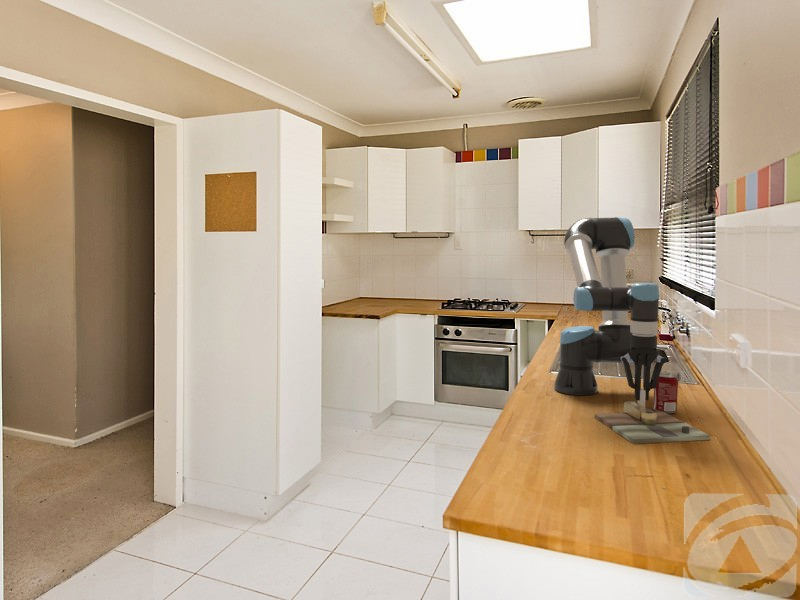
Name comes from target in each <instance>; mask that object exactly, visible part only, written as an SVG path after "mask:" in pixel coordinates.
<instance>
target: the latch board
mask: <svg viewBox="0 0 800 600" xmlns="http://www.w3.org/2000/svg"><path fill="white" fill-rule="evenodd" d="M653 411H654V412H656V413H657V416H656V424H655V425H647V424H643V423H642V422H641V421H640V420H638V419H636V418H634V417H633V416H631V415H629V414H628V413H626V412H607V413H606V412H605V413H603V412H602V413H594V419H596V420H597V421H599V422H600V423H602V424H603V425H605V426H606V427H607V428H609V429H611V430H613V432H616V433H617V434H618V435H620V437H623V438H624V439H626V440H627V441H629V442H630V443H632V444H649V443H666V442H667V443H668V442H669V443H670V442H687V441H688V442H689V441H691V442H693V441H707V440H708V441H709V440H710V439H711V438H710V437H711V436H710V434H707V433H706V432H704V431H702V430H700V429H698V428H696V427H694V426H692V425H690V424H688V423H687V422H685V421H682V420H681V419H678V418H676V417H674V416H673V415H672V414H667V413H665V412H663V411H656V410H653Z"/></svg>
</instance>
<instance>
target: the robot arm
mask: <svg viewBox="0 0 800 600" xmlns="http://www.w3.org/2000/svg"><path fill="white" fill-rule="evenodd" d="M635 236H636V235H635V229H634V226H633V224H632V221H631V220H630V219H629V218H627V217H617V216H614V217H586V218H581V219H579V220H576V221H575V222H574V223H573V224H572V225H570V227H569V228H568V229H567V231H566V233H565V235H564V239H563V240H564V241H563V242H564V243H563V244H564V249H565V251H566V253H567V254H569V257H570V258H569V259H570V260H571V266H572V270H573V274H574V277H575V278H574V279H575V281H576V285H577V287H576V288H575V289H574V290H573V307H574V308H575V309H576V310H577V311H586V312H592V311H593V312H594V311H595V312H597V311H598V312H602V316H601V317H602V322H601V323H599V325H598V330H596V329H595V328H594V326H592V325H591V326H590V325H578V326H571V327H567V328H564V329H563V330H562V331H561V332H560V336H559V337H560V338H559V369H558V372H557V375H556V378H555V379H554V382H553V383H554V385H553V386H554V387H553V388H554V390H555V391H556V392H559V393H561V394H565V395H573V396H590V395H595V394H597V393H598V390H599V389H598V387H599V386H598V383H597V380H596V375H595V373H594V363H597V364H599V363H600V364H601V363H603V364H607V363H608V364H623V368H624V372H625V375H626V376H625V377H626V381H627V384H628V386H629V388H631V389H632V390H633V389H634V399H635V400H636V401H637V404H639V405H641V406H643V407H645V408H646V402H647V401H649V399H650V391H651V390H654V389H655V388H656V385H657V382H658V379H659V375H660V373H662V372H661V371H662V369H663V368H662V367H663V365H664V364H665V363H666V362H667V358H665V357H663V356H661V355H660V354H659V351H658V336H657V334H658V332H659V331H658V330H659V329H658V327H659V324H658V322H659V302H660V301H659V298H660V290H659V285H658V284H657V283H652V282H651V283H650V282H634V283H633V284H631V286H627V271H626V270H627V268H626V257H627V255H629V253H630V250H631V249H633V248H634V245H635V238H636V237H635ZM593 250H595V255H596V256H597V257H598V258H600V274H599V271H598V267H597V265H596V264H597V263H596V261H595V257H594V254H593ZM628 312H630V322H629V318H628V316H629V315H628V314H629V313H628ZM654 361H655V363H654V364H655V365H654V368H653V371H652V373H651V369H652V364H653V362H654ZM630 363H634V378H633V373H632V369H631V365H630ZM642 367H643V368H642ZM642 369H643V378H642Z"/></svg>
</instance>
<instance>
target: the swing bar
mask: <svg viewBox="0 0 800 600" xmlns="http://www.w3.org/2000/svg"><path fill="white" fill-rule="evenodd" d="M654 411H655V410H653V409H651V408H647V407H646V406H645V407H643V406H641V405H639V404H638V402H637V403H636V401H623V413H625V412H626V413H628V414H629V415H631V416H633V417H634V418H636V419H638V420H640V421H641V422H642V423H643V424H647V425H655V424H656V416H657V413H656V412H654Z"/></svg>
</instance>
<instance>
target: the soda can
mask: <svg viewBox="0 0 800 600" xmlns="http://www.w3.org/2000/svg"><path fill="white" fill-rule="evenodd" d="M678 391H679V380H678V379H677V375H676V374H674V373H671V372H660V375H659V379H658V382H657V385H656V388H655V389H653V399H652V400H653V405H652V408H653V409H652V410H653V411H663V412H665V413H667V414H669V415H672V414H673V413H677V411H678Z"/></svg>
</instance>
